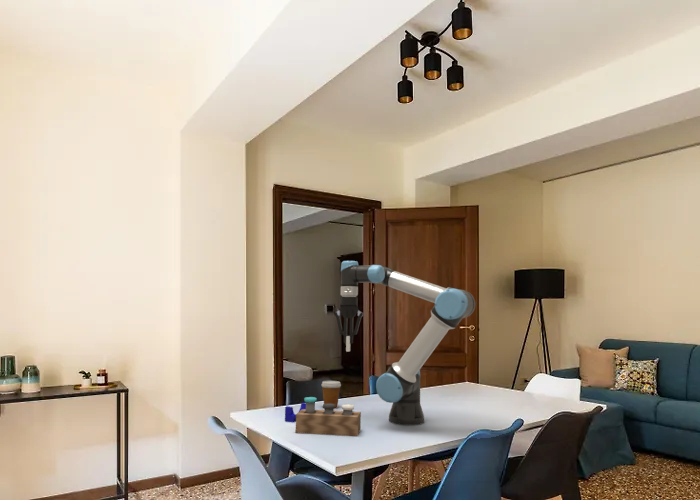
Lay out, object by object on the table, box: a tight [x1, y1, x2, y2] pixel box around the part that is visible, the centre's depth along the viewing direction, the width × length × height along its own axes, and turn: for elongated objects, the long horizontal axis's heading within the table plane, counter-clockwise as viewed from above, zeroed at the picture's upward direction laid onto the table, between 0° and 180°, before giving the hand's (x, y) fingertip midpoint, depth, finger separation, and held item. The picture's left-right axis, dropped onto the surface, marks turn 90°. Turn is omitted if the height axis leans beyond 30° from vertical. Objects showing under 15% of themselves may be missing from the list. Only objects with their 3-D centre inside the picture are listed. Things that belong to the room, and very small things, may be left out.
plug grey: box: [341, 403, 355, 415], centre depth 203 cm, size 5×5×9 cm
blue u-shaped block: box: [284, 402, 306, 423], centre depth 224 cm, size 12×4×6 cm, turn 146°
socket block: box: [295, 409, 362, 437], centre depth 204 cm, size 24×10×7 cm, turn 82°
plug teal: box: [303, 396, 318, 414], centre depth 205 cm, size 5×5×9 cm
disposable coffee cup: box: [321, 380, 342, 409], centre depth 250 cm, size 10×10×12 cm
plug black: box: [322, 403, 336, 414], centre depth 204 cm, size 5×5×9 cm
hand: (348, 351), depth 224 cm, fingers closed
